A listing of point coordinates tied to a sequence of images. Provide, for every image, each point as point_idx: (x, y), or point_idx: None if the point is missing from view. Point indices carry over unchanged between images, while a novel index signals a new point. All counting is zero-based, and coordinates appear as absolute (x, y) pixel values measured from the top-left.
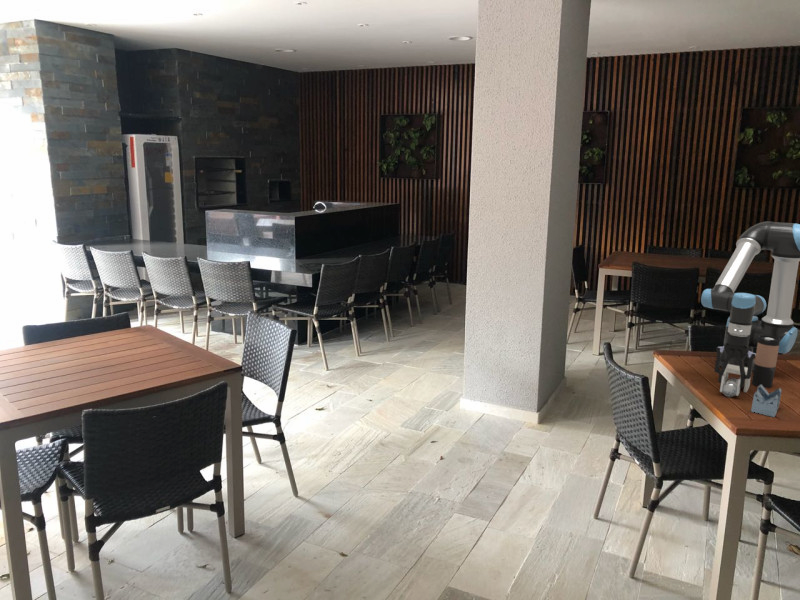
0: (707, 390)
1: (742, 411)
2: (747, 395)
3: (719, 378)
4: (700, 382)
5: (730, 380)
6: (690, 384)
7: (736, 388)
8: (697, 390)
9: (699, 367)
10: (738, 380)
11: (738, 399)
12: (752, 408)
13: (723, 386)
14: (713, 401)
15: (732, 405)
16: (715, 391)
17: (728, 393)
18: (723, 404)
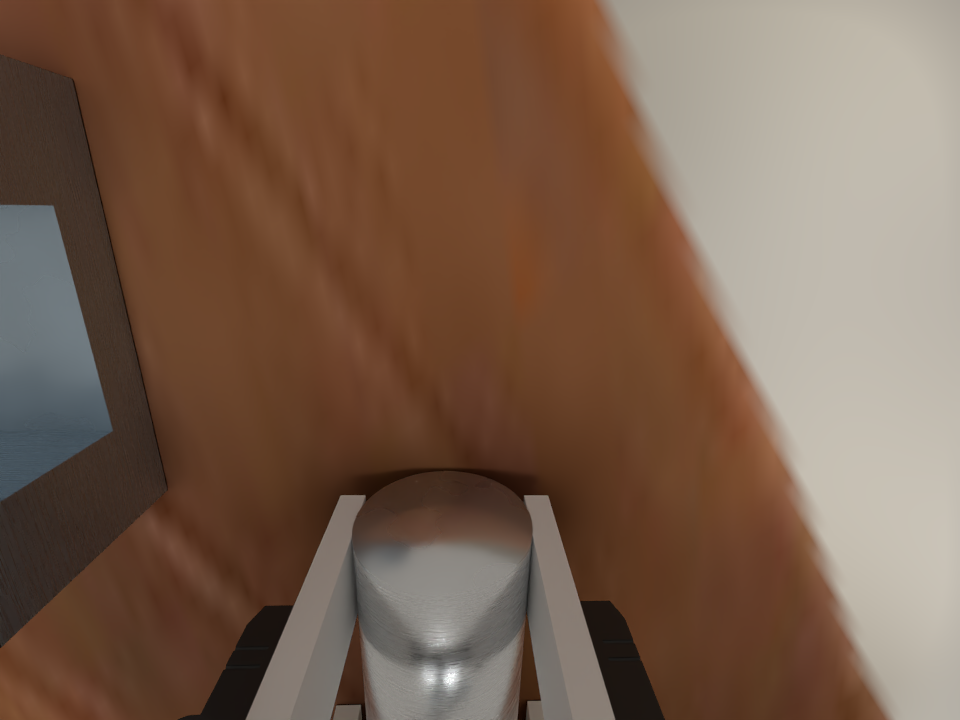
0: (661, 540)
1: (167, 11)
2: None
3: (630, 666)
4: (727, 700)
5: None
6: (820, 601)
7: (357, 578)
8: (759, 475)
9: None
10: (293, 698)
11: (343, 473)
12: (8, 62)
13: (526, 549)
14: (575, 196)
15: (344, 201)
16: (586, 561)
17: (449, 496)
18: (447, 158)
